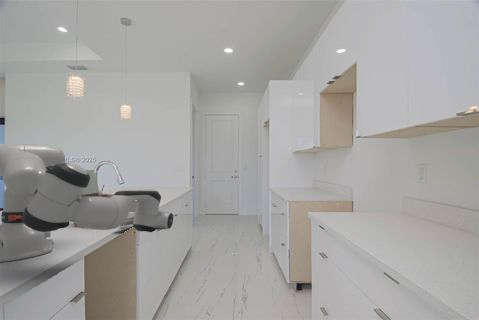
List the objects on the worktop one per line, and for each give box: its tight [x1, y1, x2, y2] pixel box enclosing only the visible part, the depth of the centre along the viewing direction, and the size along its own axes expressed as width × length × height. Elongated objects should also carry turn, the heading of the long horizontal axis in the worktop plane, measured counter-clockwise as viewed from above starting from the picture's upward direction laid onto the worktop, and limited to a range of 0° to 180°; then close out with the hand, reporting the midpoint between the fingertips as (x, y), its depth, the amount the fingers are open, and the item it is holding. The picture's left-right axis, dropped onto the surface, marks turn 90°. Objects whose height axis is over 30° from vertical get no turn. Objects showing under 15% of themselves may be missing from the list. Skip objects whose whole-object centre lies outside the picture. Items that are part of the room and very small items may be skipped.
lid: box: [81, 169, 101, 196], centre depth 134 cm, size 14×15×1 cm
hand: (119, 216), depth 127 cm, fingers closed
